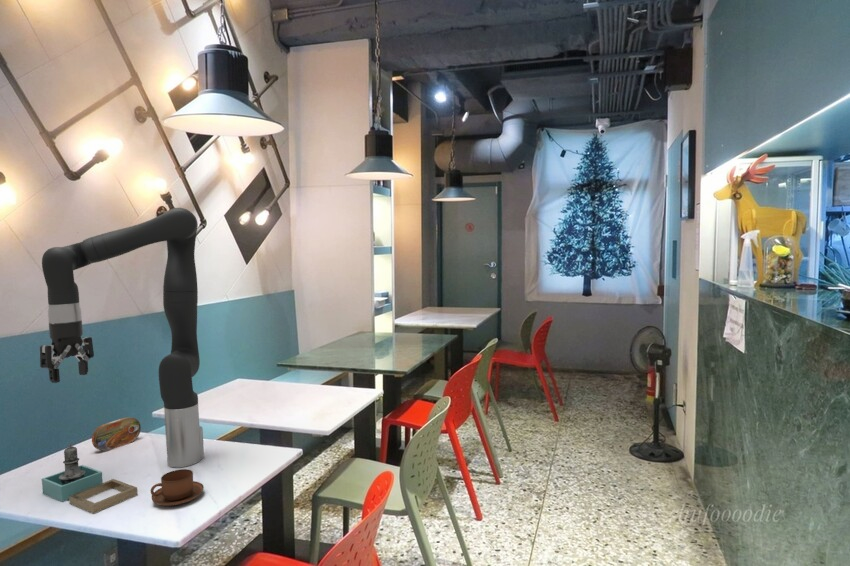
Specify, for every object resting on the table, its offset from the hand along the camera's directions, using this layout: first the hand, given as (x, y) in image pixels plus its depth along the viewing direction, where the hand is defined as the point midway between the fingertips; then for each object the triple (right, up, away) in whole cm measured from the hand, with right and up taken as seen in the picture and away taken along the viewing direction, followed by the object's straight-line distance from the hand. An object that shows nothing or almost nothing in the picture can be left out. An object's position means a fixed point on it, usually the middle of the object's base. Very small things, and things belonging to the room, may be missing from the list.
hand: (69, 378), depth 145 cm
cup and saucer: (+35, -29, -11) cm, 47 cm away
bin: (+4, -29, -5) cm, 29 cm away
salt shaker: (+4, -28, -5) cm, 29 cm away
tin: (-3, -27, +27) cm, 38 cm away
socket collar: (+16, -29, -11) cm, 35 cm away
